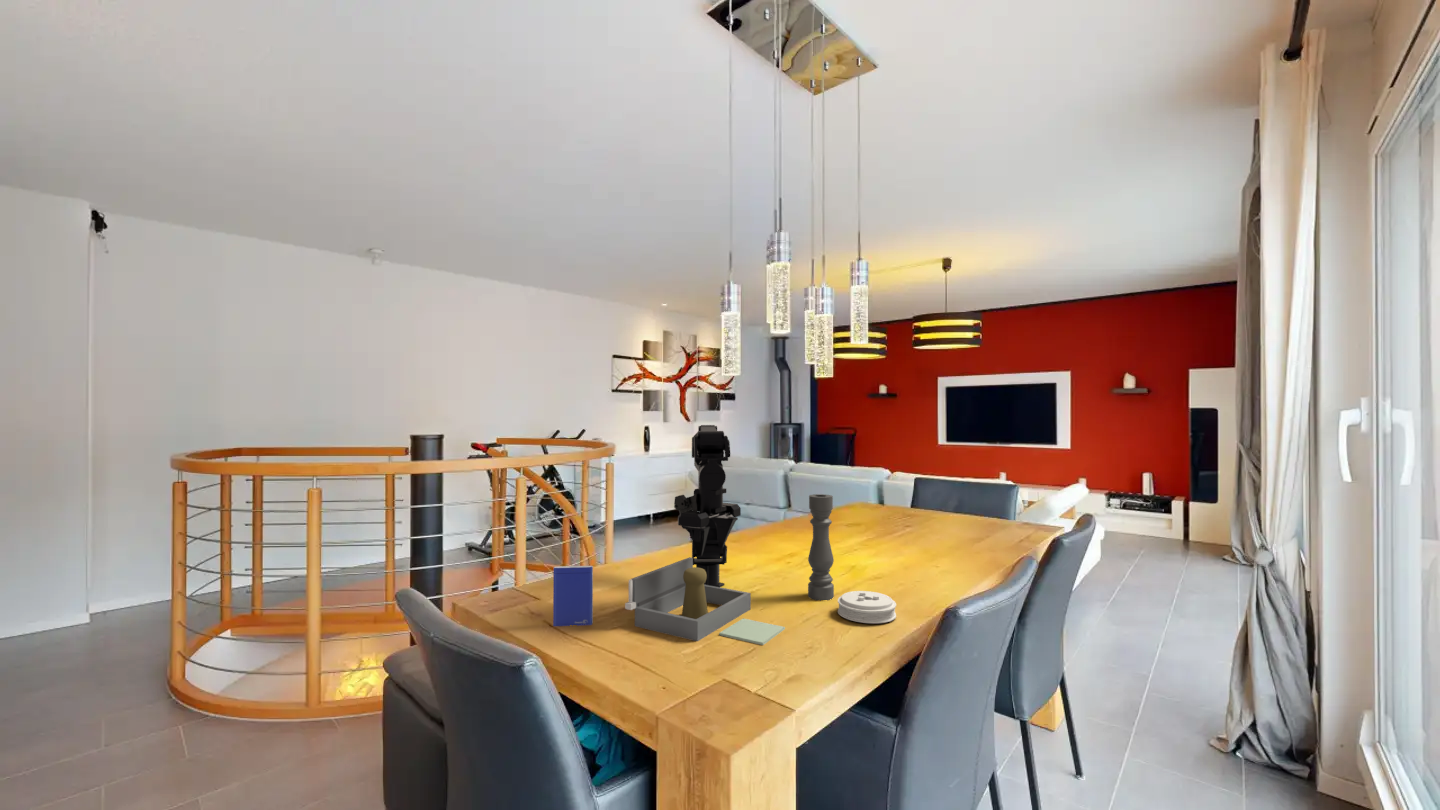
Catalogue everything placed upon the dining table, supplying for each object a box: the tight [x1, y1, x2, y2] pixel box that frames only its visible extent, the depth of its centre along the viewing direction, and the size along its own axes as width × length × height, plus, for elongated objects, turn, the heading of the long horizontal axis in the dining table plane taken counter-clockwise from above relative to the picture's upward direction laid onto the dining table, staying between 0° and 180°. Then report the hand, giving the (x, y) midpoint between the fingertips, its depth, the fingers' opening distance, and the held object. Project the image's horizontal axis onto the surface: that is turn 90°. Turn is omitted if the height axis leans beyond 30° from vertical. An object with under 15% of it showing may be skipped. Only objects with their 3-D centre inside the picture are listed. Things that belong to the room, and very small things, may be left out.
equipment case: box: [624, 556, 752, 642], centre depth 133 cm, size 24×17×10 cm
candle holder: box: [807, 493, 835, 602], centre depth 148 cm, size 6×6×25 cm
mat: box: [718, 618, 786, 646], centre depth 125 cm, size 10×10×1 cm
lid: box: [837, 590, 897, 624], centre depth 135 cm, size 13×13×5 cm
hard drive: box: [552, 565, 594, 627], centre depth 129 cm, size 2×8×12 cm, turn 95°
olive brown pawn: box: [681, 566, 709, 619], centre depth 133 cm, size 6×6×11 cm
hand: (710, 551), depth 141 cm, fingers open, 9 cm apart
